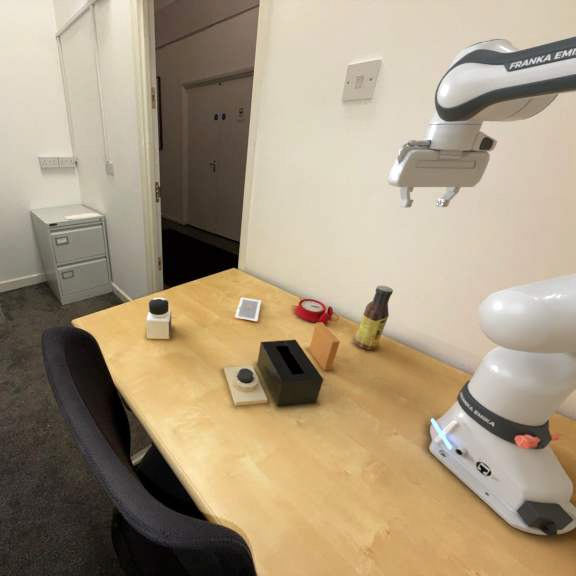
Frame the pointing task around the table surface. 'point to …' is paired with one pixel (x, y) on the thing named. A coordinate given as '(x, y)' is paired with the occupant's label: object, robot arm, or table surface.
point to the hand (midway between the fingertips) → (423, 206)
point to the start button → (245, 375)
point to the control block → (244, 387)
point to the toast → (324, 346)
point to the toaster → (289, 373)
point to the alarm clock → (313, 311)
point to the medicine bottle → (158, 319)
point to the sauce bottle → (374, 319)
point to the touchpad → (248, 309)
